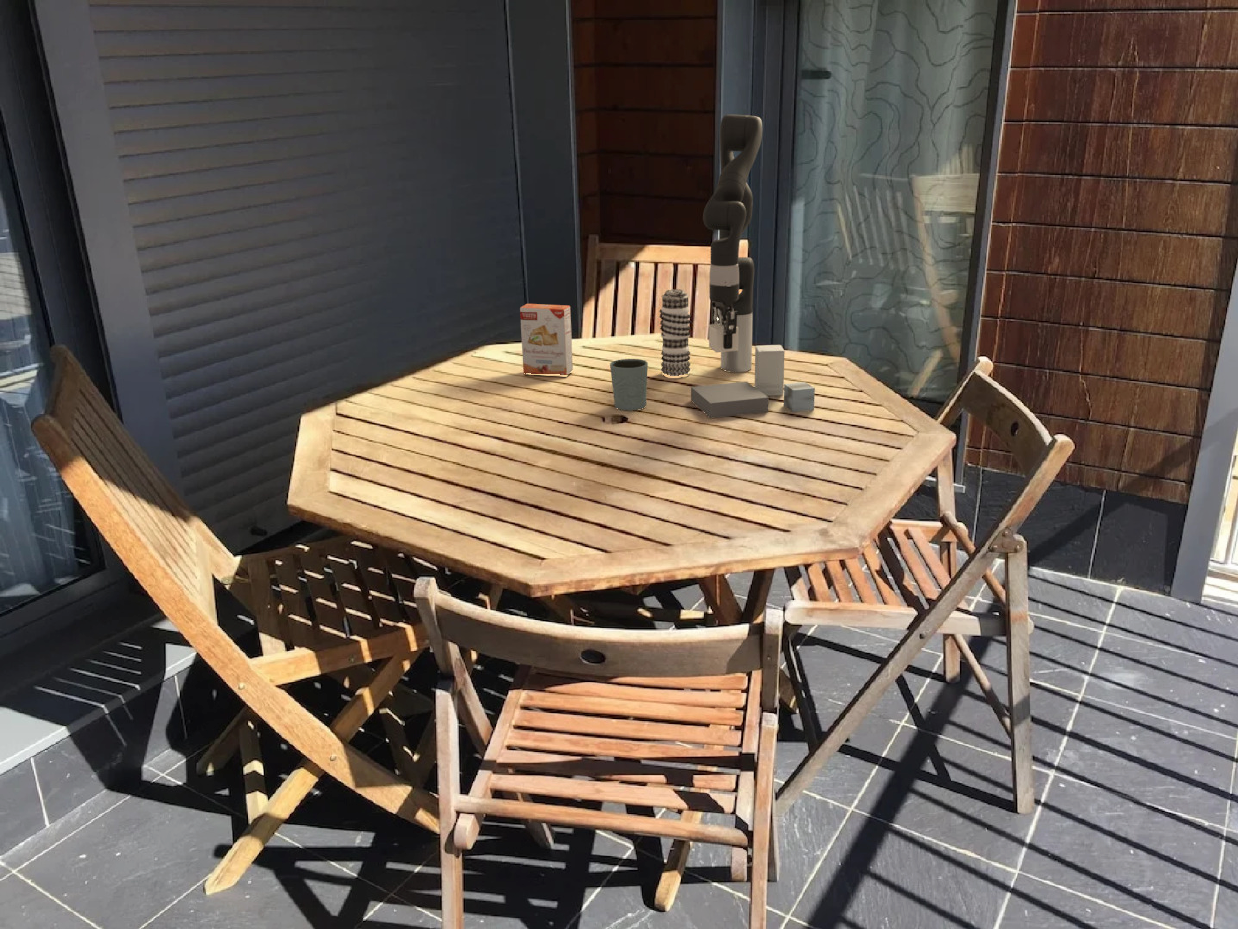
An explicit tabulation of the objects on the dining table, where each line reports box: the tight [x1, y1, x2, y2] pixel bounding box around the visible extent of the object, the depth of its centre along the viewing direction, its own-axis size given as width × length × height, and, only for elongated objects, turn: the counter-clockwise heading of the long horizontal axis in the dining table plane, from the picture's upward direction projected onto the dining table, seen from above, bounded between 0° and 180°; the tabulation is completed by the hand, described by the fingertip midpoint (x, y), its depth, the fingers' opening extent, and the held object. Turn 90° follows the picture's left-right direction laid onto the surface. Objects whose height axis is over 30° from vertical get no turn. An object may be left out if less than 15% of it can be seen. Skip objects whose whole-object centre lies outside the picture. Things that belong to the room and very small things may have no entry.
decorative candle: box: [658, 288, 692, 376], centre depth 304 cm, size 9×9×25 cm
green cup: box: [609, 358, 649, 412], centre depth 278 cm, size 10×10×12 cm
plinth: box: [690, 381, 770, 419], centre depth 276 cm, size 16×16×4 cm
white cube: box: [708, 323, 739, 354], centre depth 270 cm, size 6×6×6 cm
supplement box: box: [754, 344, 786, 397], centre depth 287 cm, size 7×7×13 cm
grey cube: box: [783, 381, 816, 413], centre depth 274 cm, size 6×6×6 cm
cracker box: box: [519, 303, 574, 375], centre depth 308 cm, size 14×6×21 cm, turn 73°
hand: (723, 345), depth 271 cm, fingers closed on white cube, 6 cm apart
